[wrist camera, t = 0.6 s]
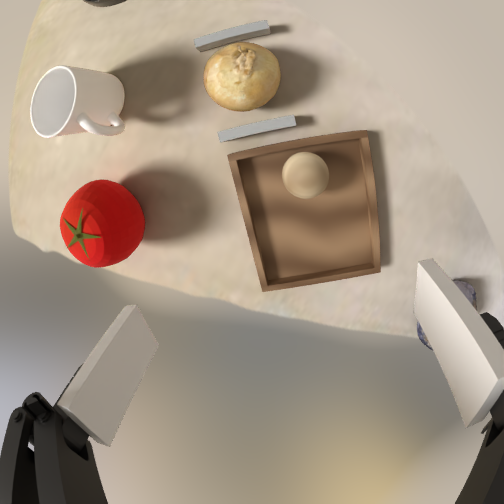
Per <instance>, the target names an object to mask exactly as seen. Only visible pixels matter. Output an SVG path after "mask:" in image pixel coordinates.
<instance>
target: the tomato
mask: <svg viewBox="0 0 504 504" xmlns="http://www.w3.org/2000/svg"><path fill="white" fill-rule="evenodd" d="M60 229H61V234H62V237H63V239H64V242H65V244H66V246H67V248H68V249H69V251H70V252H71V253H72V254H73V256H74V257H75V258H77V259H78V260H79V261H81V262H82V263H84V264H86V265H88V266H91V267H106V266H110V265H113V264H116V263H119V262H121V261H123V260H124V259H126V258H128V257H129V256H130V255H131V254H132V253H133V252H134V251H135V249H136V248H137V247H138V245H139V244H140V242H141V240H142V238H143V233H144V229H145V219H144V214H143V211H142V209H141V206H140V205H139V203H138V201H137V200H136V198H135V197H134V196H133V195H132V194H131V193H130V192H129V191H128V190H127V189H126V188H125V187H123V186H122V185H120V184H118V183H115V182H112V181H109V180H95V181H92V182H89V183H87V184H85V185H84V186H82V187H81V188H80V189H78V190H77V191H76V192H75V193H74V194H73V196H72V197H71V198H70V199H69V201H68V202H67V204H66V206H65V208H64V210H63V213H62V215H61V219H60Z"/></svg>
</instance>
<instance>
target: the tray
mask: <svg viewBox="0 0 504 504" xmlns="http://www.w3.org/2000/svg"><path fill="white" fill-rule="evenodd" d="M300 152H310V153H314V154H316V155H318V156H319V157H320V158H322V159H323V161H324V162H325V163H326V165H327V167H328V170H329V181H328V185H327V187H326V188H325V190H324V191H323V192H322V193H321V194H320V195H318V196H316V197H314V198H309V199H303V198H299V197H296V196H294V195H293V194H291V193H290V192H289V191H288V190H287V189H286V187H285V185H284V183H283V180H282V169H283V166H284V164H285V162H286V161H287V160H288V159H289V158H290V157H291V156H292V155H294V154H296V153H300ZM227 156H228V160H229V164H230V168H231V172H232V175H233V179H234V183H235V187H236V191H237V195H238V199H239V203H240V206H241V210H242V214H243V218H244V222H245V226H246V230H247V234H248V237H249V241H250V245H251V249H252V253H253V257H254V261H255V265H256V268H257V272H258V276H259V280H260V284H261V288H262V292H266V291H273V290H280V289H286V288H293V287H299V286H305V285H312V284H318V283H324V282H330V281H335V280H341V279H347V278H352V277H358V276H363V275H369V274H374V273H379V272H381V268H380V238H379V222H378V209H377V198H376V189H375V180H374V172H373V165H372V158H371V152H370V146H369V140H368V134H367V130H360V131H351V132H343V133H336V134H329V135H322V136H315V137H309V138H303V139H298V140H292V141H287V142H281V143H276V144H271V145H267V146H262V147H257V148H253V149H248V150H244V151H240V152H236V153H232V154H229V155H227Z"/></svg>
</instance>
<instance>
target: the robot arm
mask: <svg viewBox="0 0 504 504" xmlns="http://www.w3.org/2000/svg"><path fill="white" fill-rule="evenodd" d="M83 1H84V2H86V3H89V4H91V5H93V6H97V7H107V6H111V5H115V4H118V3H120V2H123V1H125V0H83ZM414 314H415V316H416V318H417V320H418V322H419V323H420V325H421V327H422V329H423V331H424V333H425V335H426V337H427V339H428V341H429V343H430V345H431V347H432V349H433V351H434V353H435V355H436V357H437V359H438V361H439V363H440V365H441V368H442V370H443V372H444V374H445V377H446V379H447V381H448V383H449V386H450V388H451V391H452V393H453V395H454V398H455V400H456V403H457V406H458V408H459V411H460V413H461V416H462V419H463V422H464V424H465V427H466V428H468V427H470V426H472V425H474V424H476V423H478V422H480V421H482V420H483V419H484V418H485V417H486V415H487V414H488V413H489V411H490V413H491V415H492V418H491V420H490V421H489V422H488V424H487V425H486V426H485V427H484V428H483V430H482V432H481V433H482V434H483V433H484V432H485V431H486V430H487V432H486V435H485V438H484V440H483V443H482V446H481V449H480V451H479V454H478V456H477V459H476V461H475V464H474V466H473V468H472V471H471V473H470V475H469V477H468V479H467V481H466V483H465V485H464V487H463V489H462V491H461V493H460V495H459V497H458V498H457V500H456V502H455V504H504V328H503V327H502V325H501V324H500V323H499V321H498V320H497V319H496V318H495V317H493V316H492V315H490V314H489V313H487V312H486V313H483V314H480V315H479V313H478V312H477V311H476V309H475V308H474V307H473V306H472V304H471V303H470V302H469V300H468V299H467V298H466V297H465V295H464V294H463V293H462V292H461V291H460V289H459V288H458V287H457V286H456V284H455V283H454V282H453V281H452V280H451V279H450V277H449V276H448V275H447V274H446V273H445V272H444V271H443V269H442V268H441V267H440V266H439V265H438V264H437V263H436V262H435V261H434V259H433V258H432V259H428V260H423V261H419V262H418V271H417V284H416V294H415V304H414ZM158 346H159V344H158V343H157V341H156V339H155V337H154V336H153V334H152V332H151V330H150V328H149V326H148V325H147V323H146V321H145V319H144V317H143V315H142V313H141V311H140V310H139V307H138V306H137V305H128V306H125V307H124V308H123V310H122V311H121V312H120V314H119V315H118V316H117V318H116V319H115V321H114V322H113V323H112V324H111V326H110V327H109V329H108V330H107V331H106V333H105V334H104V335H103V337H102V338H101V340H100V341H99V342H98V344H97V345H96V347H95V348H94V349H93V351H92V352H91V354H90V355H89V356H88V358H87V359H86V361H85V362H84V363H83V364H82V365H81V366H80V367H79V368H78V370H77V371H76V373H75V374H74V377H72V379H71V380H70V383H68V385H67V386H66V388H65V389H64V391H63V393H62V394H61V395H60V397H59V399H58V400H57V402H56V403H55V405H54V406H53V407H52V406H51V405H50V404H49V403H48V401H47V400H46V399H45V398H44V397H43V396H42V395H41V394H40V393H38V392H35V393H32V394H30V395H29V396H28V397H27V398H26V399H25V400H24V402H23V404H22V407H18V408H16V409H15V410H14V411H13V413H12V414H11V416H10V419H9V423H8V427H7V430H6V434H5V438H4V442H3V446H2V451H1V456H0V504H108V502H107V499H106V496H105V493H104V490H103V487H102V484H101V480H100V477H99V473H98V470H97V466H96V462H95V458H94V454H93V449H92V445H91V443H90V441H88V440H87V439H88V437H89V436H90V437H92V438H93V439H94V440H95V441H96V442H98V443H100V444H103V445H106V446H109V447H110V446H111V443H112V441H113V439H114V437H115V434H116V432H117V430H118V428H119V425H120V423H121V421H122V419H123V417H124V415H125V413H126V411H127V409H128V407H129V404H130V402H131V400H132V398H133V396H134V394H135V392H136V390H137V388H138V386H139V384H140V382H141V380H142V378H143V375H144V374H145V372H146V370H147V368H148V366H149V364H150V362H151V360H152V357H153V356H154V354H155V352H156V350H157V348H158ZM28 442H30V443H31V444H32V445H33V446H34V451H32V450H31V449H30V448H29V447H28Z"/></svg>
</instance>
